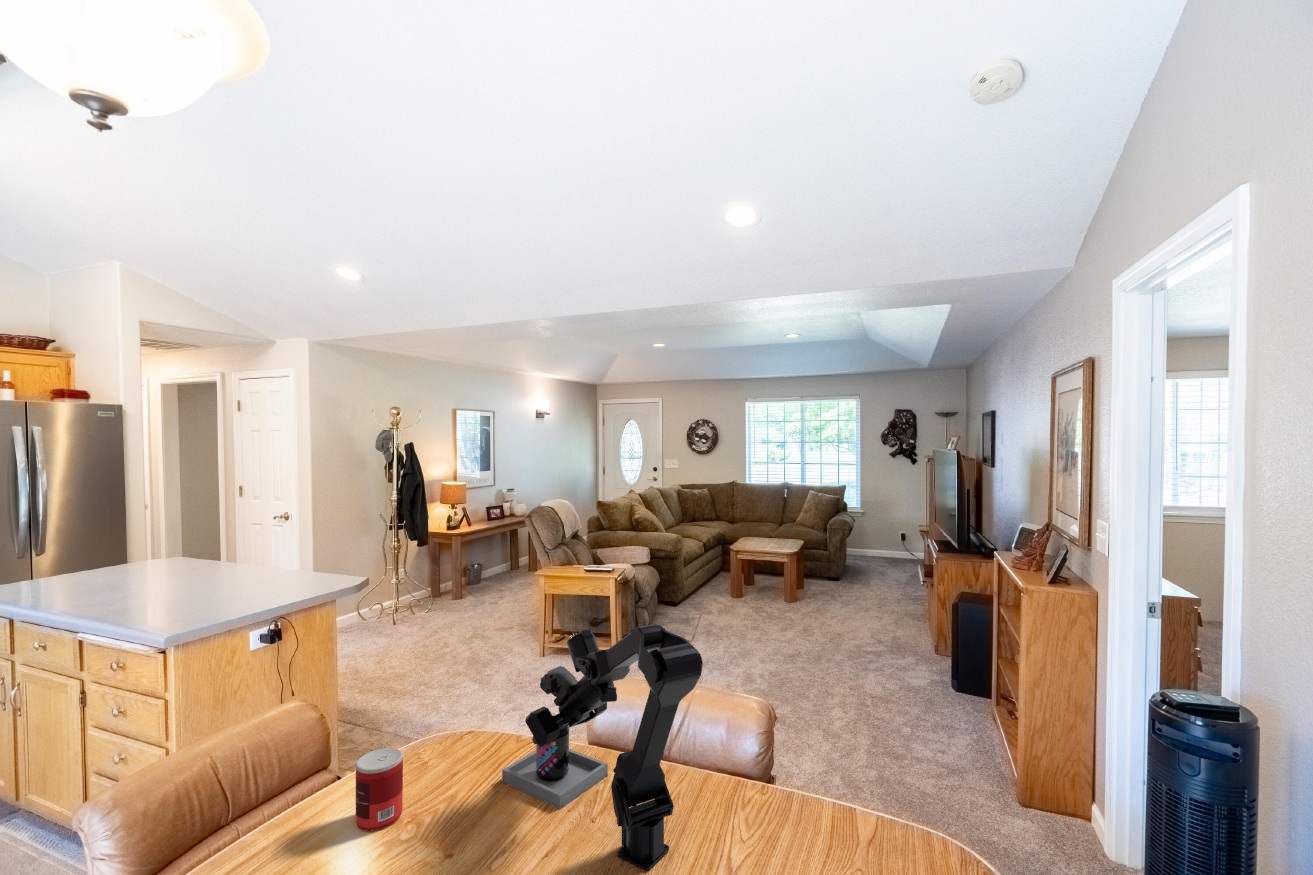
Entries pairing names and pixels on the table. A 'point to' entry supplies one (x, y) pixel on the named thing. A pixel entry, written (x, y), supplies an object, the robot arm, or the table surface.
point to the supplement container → (554, 757)
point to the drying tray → (558, 792)
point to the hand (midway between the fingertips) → (547, 734)
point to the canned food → (379, 789)
